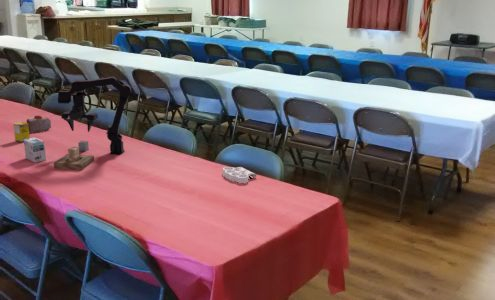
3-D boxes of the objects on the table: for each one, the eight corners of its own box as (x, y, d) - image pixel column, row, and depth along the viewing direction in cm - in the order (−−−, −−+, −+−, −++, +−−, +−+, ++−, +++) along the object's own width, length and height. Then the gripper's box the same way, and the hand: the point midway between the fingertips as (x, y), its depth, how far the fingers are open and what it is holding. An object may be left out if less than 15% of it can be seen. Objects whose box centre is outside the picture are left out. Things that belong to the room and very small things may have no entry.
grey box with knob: (47, 127, 346) (45, 112, 343) (52, 130, 340) (51, 115, 337) (26, 131, 337) (24, 116, 334) (31, 133, 331) (29, 118, 328)
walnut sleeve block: (94, 160, 283) (93, 155, 282) (82, 170, 269) (81, 164, 268) (67, 159, 285) (67, 153, 284) (54, 168, 271) (53, 162, 270)
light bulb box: (46, 160, 283) (44, 140, 280) (34, 162, 278) (32, 143, 275) (37, 155, 290) (35, 136, 287) (25, 158, 285) (23, 139, 282)
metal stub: (88, 149, 302) (88, 141, 301) (85, 151, 298) (85, 143, 297) (81, 149, 303) (81, 140, 301) (78, 151, 299) (78, 142, 297)
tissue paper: (260, 180, 261) (235, 186, 253) (239, 170, 275) (215, 175, 267) (260, 174, 260) (235, 179, 252) (239, 164, 274) (215, 169, 266)
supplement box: (30, 140, 316) (28, 123, 313) (21, 143, 312) (19, 125, 308) (24, 139, 319) (22, 121, 316) (15, 141, 315) (13, 123, 311)
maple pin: (80, 163, 279) (78, 147, 276) (76, 166, 275) (75, 149, 272) (73, 163, 279) (71, 146, 277) (69, 165, 275) (68, 148, 273)
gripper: (55, 105, 280) (57, 134, 284) (88, 107, 277) (90, 136, 282) (65, 101, 290) (67, 128, 295) (97, 103, 288) (99, 130, 292)
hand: (80, 131), depth 291 cm, fingers open, 9 cm apart
